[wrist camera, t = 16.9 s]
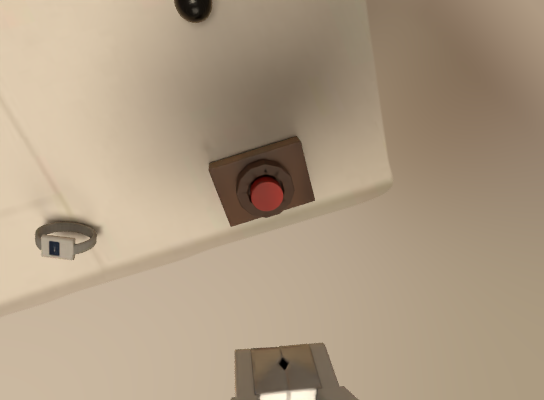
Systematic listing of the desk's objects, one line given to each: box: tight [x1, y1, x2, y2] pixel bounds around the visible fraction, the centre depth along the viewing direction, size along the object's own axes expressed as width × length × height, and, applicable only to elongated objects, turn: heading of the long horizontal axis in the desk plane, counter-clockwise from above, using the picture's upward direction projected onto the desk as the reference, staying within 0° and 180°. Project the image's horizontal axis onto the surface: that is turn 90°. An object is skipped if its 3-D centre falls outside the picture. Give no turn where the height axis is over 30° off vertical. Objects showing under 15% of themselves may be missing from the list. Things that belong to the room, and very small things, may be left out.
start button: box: [250, 176, 283, 211], centre depth 38 cm, size 4×4×2 cm
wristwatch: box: [35, 222, 97, 260], centre depth 39 cm, size 6×3×5 cm, turn 76°
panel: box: [209, 136, 315, 227], centre depth 40 cm, size 11×8×4 cm
